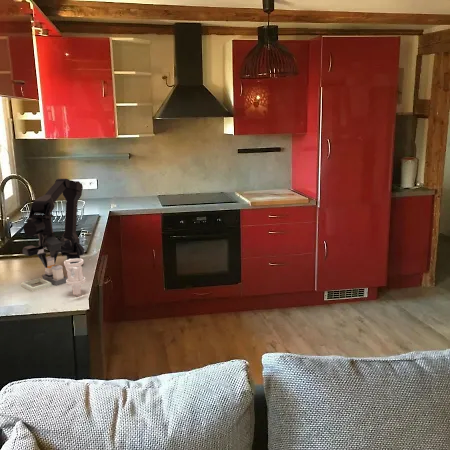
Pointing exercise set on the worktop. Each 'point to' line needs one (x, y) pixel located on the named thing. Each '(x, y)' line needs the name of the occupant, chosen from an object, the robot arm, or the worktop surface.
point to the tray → (28, 283)
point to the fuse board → (54, 282)
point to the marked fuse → (49, 265)
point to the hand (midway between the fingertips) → (49, 266)
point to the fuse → (57, 272)
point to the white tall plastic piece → (75, 275)
